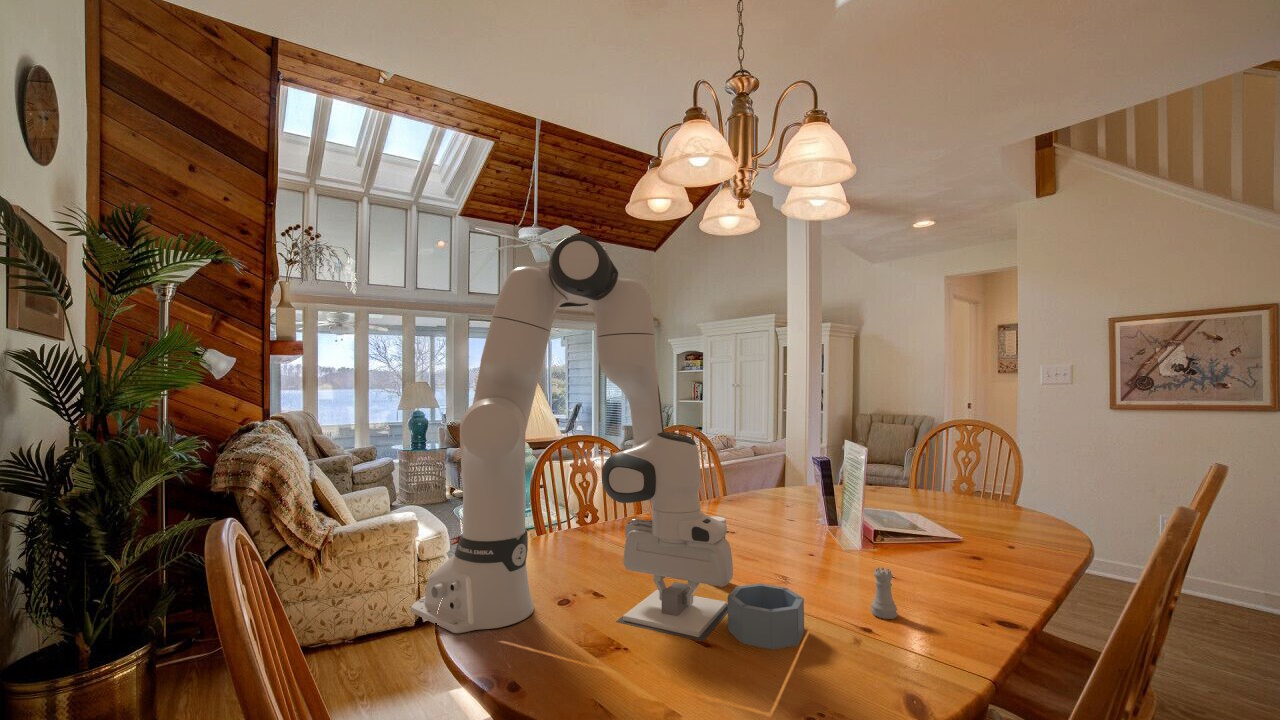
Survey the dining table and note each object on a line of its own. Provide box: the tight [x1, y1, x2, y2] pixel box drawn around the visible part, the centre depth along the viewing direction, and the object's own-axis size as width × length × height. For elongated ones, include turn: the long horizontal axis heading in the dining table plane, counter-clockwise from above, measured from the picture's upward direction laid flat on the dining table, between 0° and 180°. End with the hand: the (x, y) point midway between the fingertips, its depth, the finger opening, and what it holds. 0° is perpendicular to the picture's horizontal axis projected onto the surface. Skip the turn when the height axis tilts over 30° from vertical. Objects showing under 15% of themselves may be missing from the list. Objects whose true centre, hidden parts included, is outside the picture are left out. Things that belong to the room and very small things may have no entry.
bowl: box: [727, 583, 805, 651], centre depth 91 cm, size 12×12×6 cm
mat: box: [615, 603, 728, 642], centre depth 98 cm, size 16×16×1 cm
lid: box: [622, 581, 727, 637], centre depth 98 cm, size 14×14×4 cm
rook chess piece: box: [870, 567, 898, 620], centre depth 98 cm, size 4×4×8 cm
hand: (676, 602), depth 98 cm, fingers closed on lid, 3 cm apart
